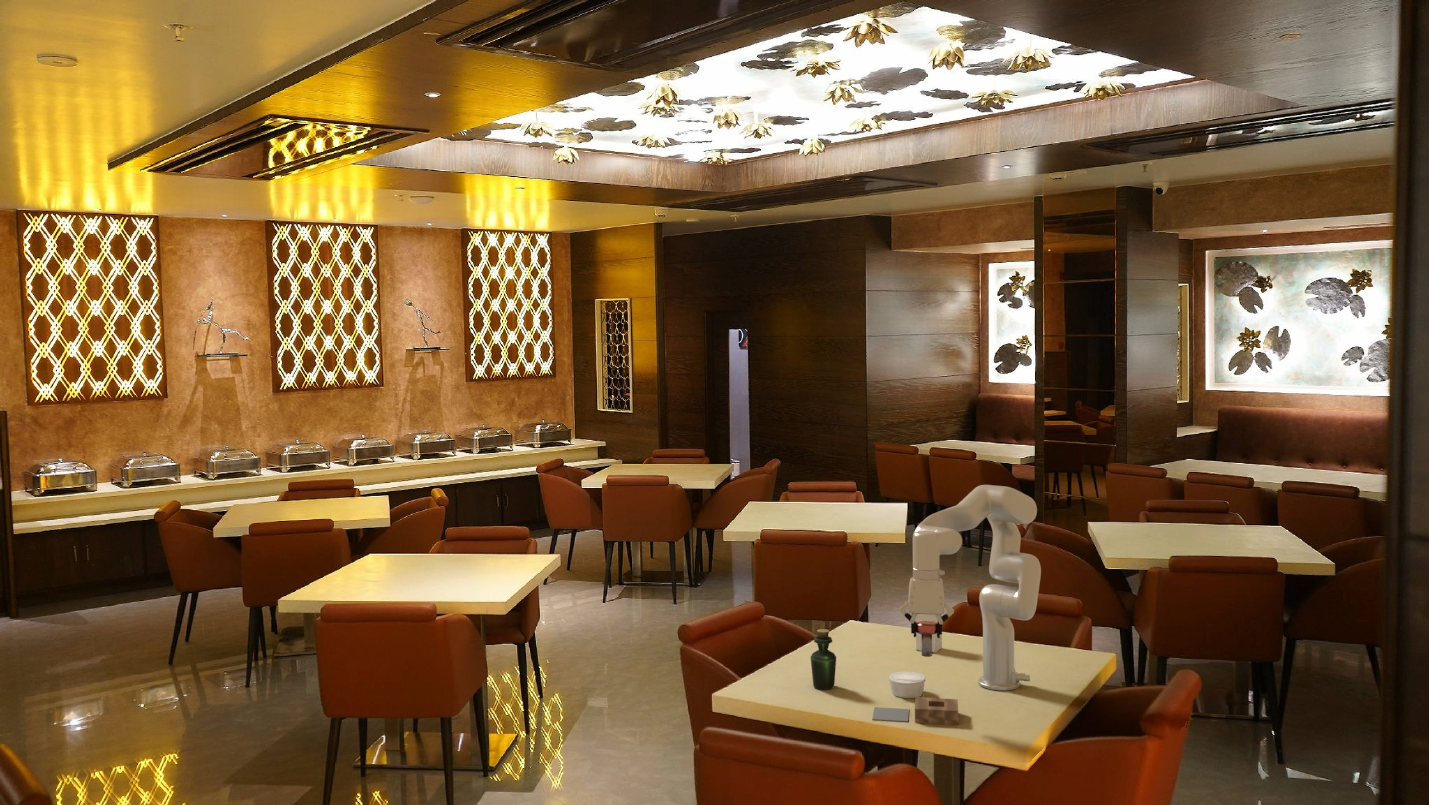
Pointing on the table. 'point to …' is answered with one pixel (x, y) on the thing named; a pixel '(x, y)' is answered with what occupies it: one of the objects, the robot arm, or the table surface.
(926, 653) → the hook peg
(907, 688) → the ramekin
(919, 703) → the eye block
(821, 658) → the potion bottle
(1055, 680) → the table surface
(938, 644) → the milk carton
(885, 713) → the slate mat
